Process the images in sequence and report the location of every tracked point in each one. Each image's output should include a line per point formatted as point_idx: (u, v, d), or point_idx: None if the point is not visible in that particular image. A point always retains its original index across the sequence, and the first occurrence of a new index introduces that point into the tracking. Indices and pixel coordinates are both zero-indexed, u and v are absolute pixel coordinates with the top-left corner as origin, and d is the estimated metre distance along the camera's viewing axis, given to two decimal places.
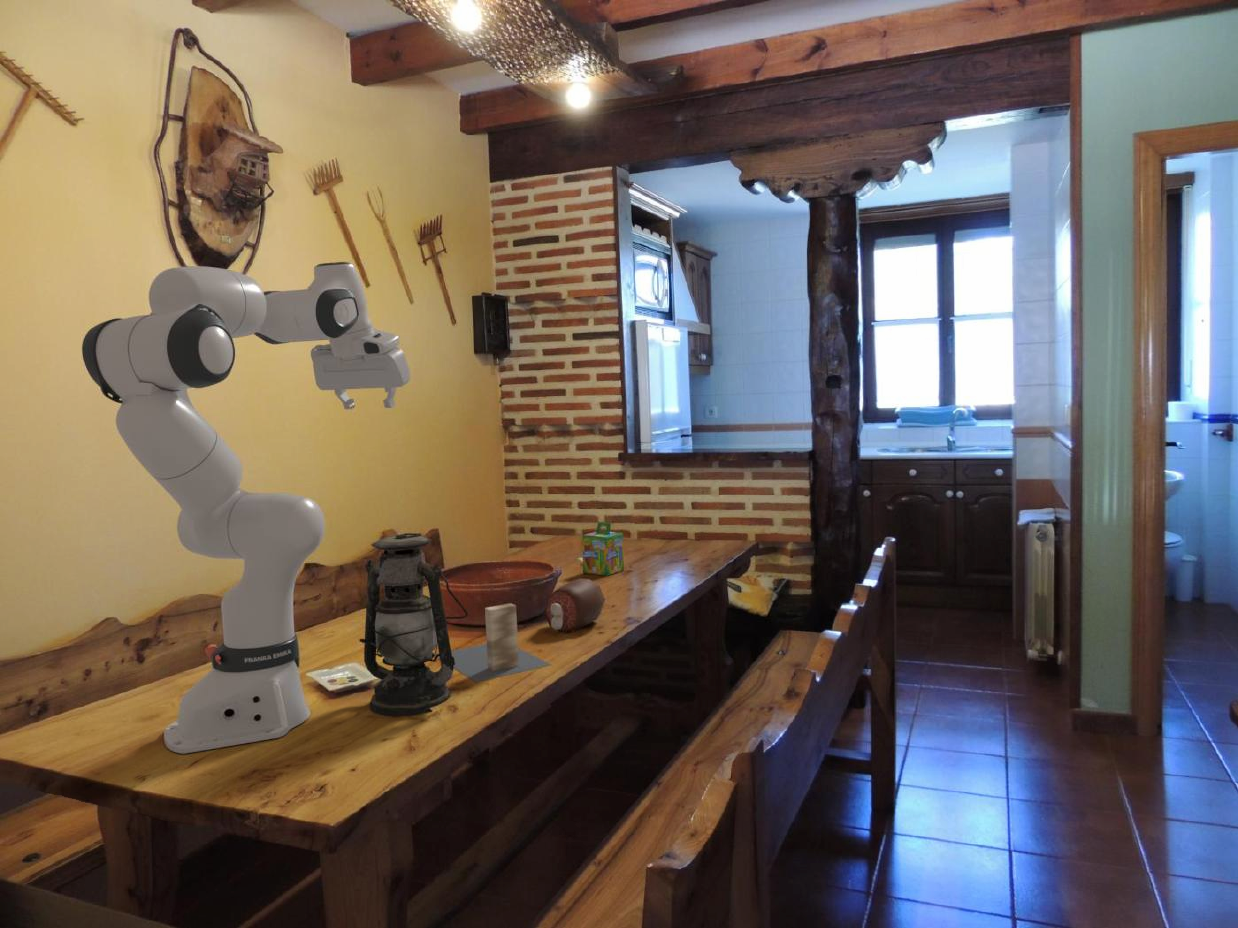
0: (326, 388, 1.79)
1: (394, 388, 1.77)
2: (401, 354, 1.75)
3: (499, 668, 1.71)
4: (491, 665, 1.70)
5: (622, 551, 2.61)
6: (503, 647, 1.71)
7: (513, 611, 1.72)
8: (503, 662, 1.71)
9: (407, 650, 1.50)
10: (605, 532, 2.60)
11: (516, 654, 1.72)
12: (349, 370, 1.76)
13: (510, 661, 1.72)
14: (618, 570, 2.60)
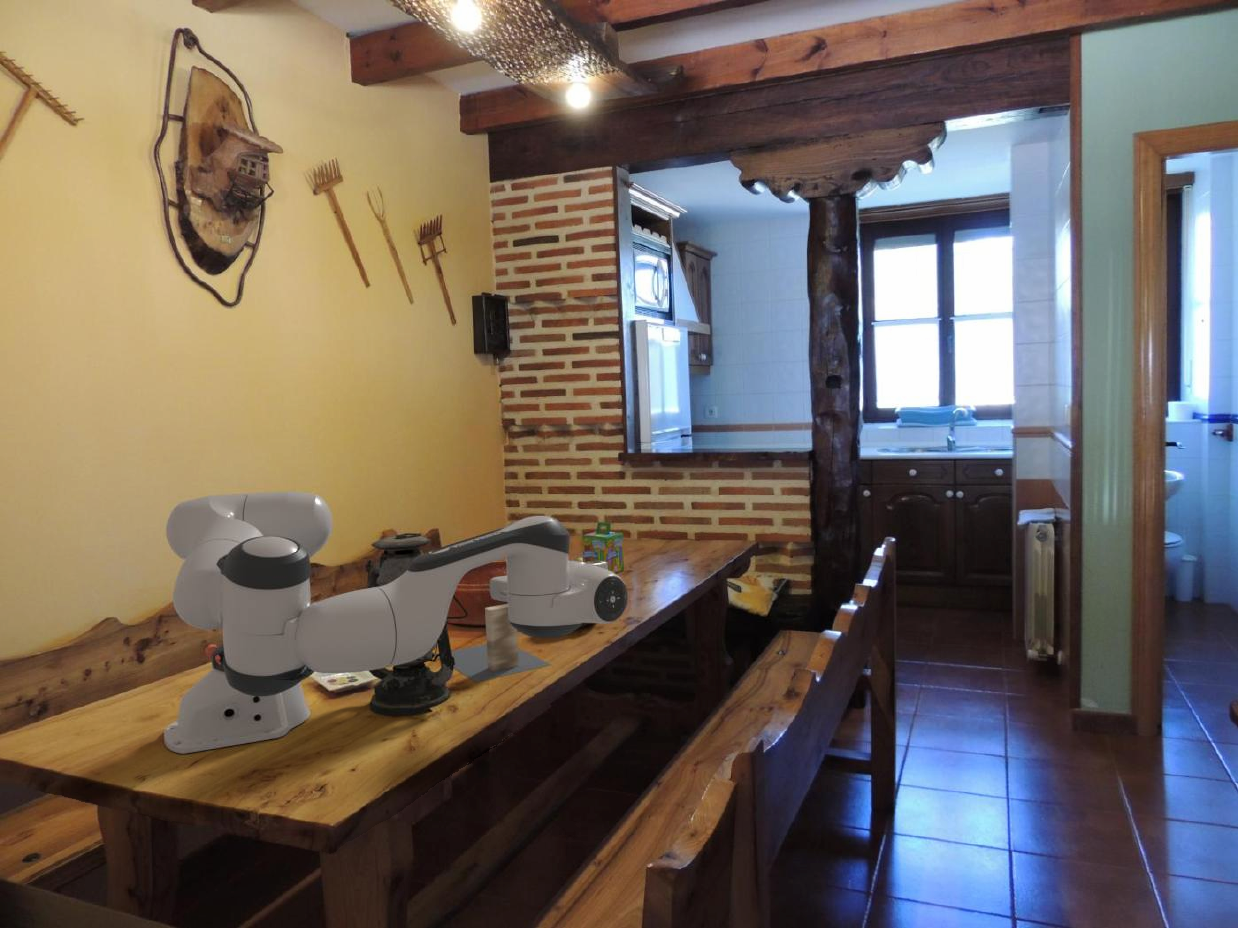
0: None
1: None
2: None
3: (499, 668, 1.71)
4: (491, 665, 1.70)
5: (622, 551, 2.61)
6: (503, 647, 1.71)
7: None
8: (503, 662, 1.71)
9: None
10: (605, 532, 2.60)
11: (516, 654, 1.72)
12: None
13: (510, 661, 1.72)
14: (618, 570, 2.60)
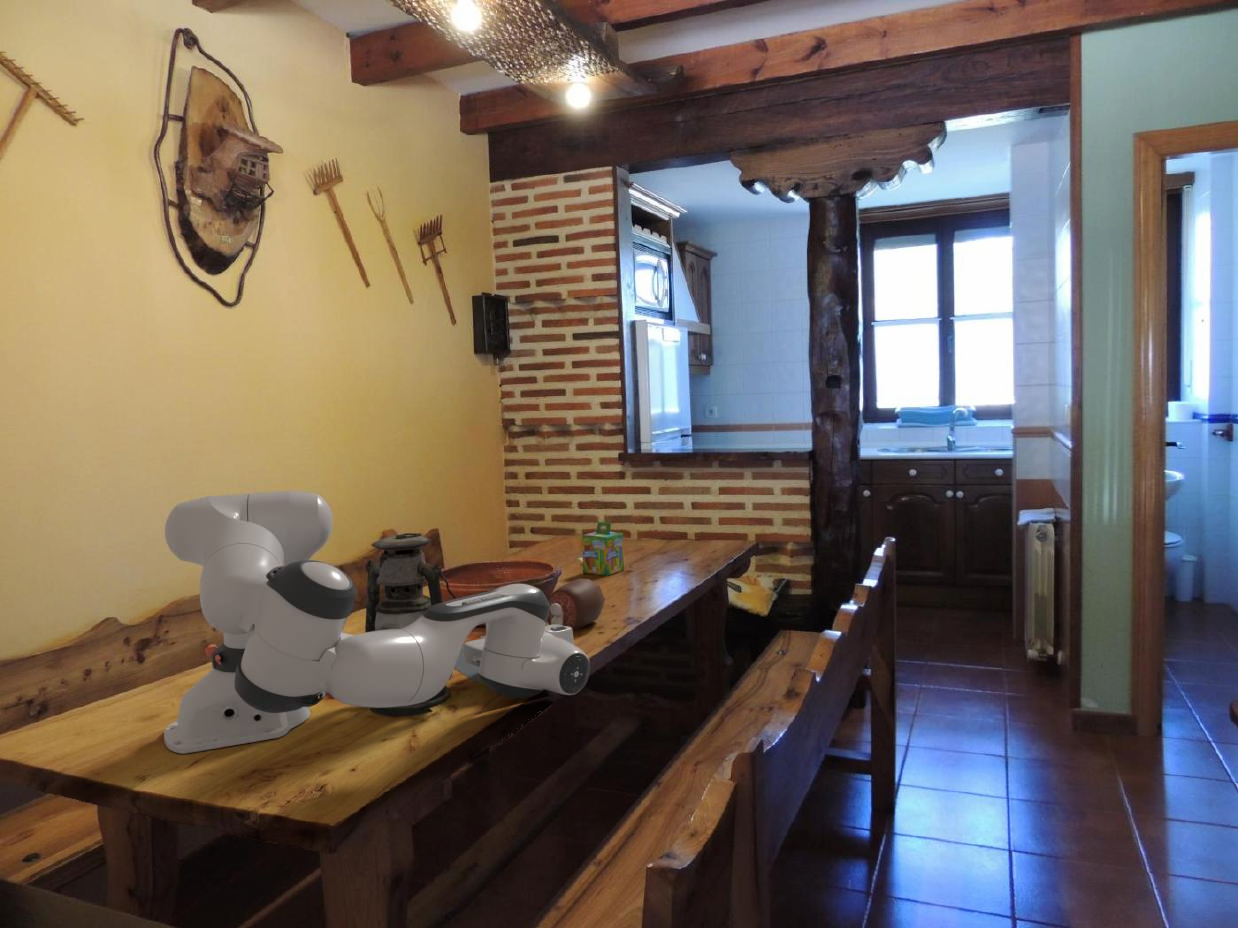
0: None
1: None
2: None
3: None
4: None
5: (622, 551, 2.61)
6: None
7: None
8: None
9: None
10: (605, 532, 2.60)
11: None
12: None
13: None
14: (618, 570, 2.60)
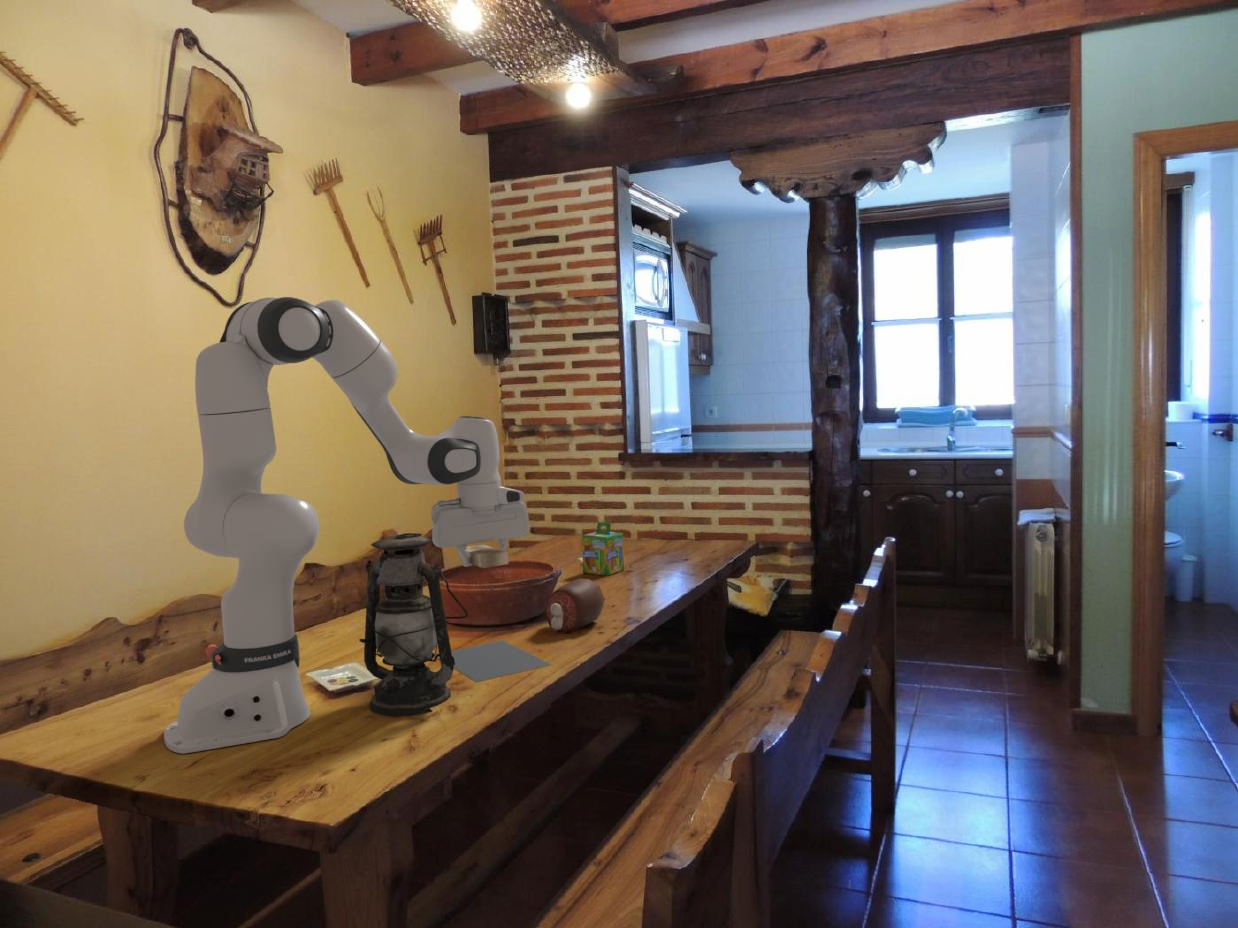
0: (449, 544, 1.73)
1: None
2: None
3: (488, 554, 1.73)
4: (480, 559, 1.73)
5: (622, 551, 2.61)
6: (484, 551, 1.77)
7: (481, 545, 1.84)
8: (490, 553, 1.75)
9: (407, 650, 1.50)
10: (605, 532, 2.60)
11: (500, 550, 1.77)
12: (478, 523, 1.76)
13: (496, 552, 1.75)
14: (618, 570, 2.60)
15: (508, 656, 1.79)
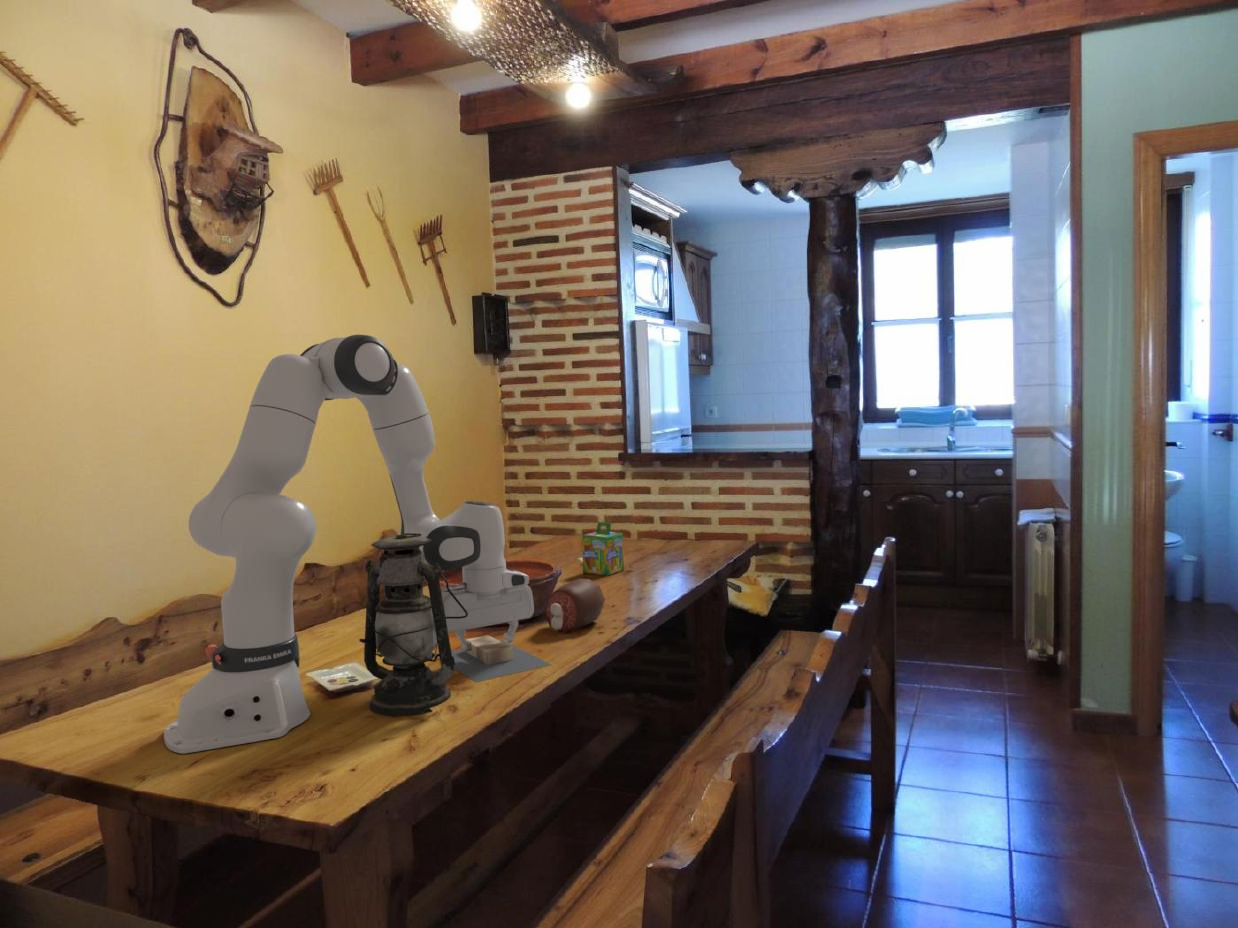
0: (455, 630, 1.74)
1: None
2: None
3: (493, 651, 1.75)
4: (485, 655, 1.75)
5: (622, 551, 2.61)
6: (489, 645, 1.79)
7: (487, 636, 1.86)
8: (495, 649, 1.76)
9: (407, 650, 1.50)
10: (605, 532, 2.60)
11: (506, 645, 1.78)
12: (483, 607, 1.77)
13: (502, 647, 1.77)
14: (618, 570, 2.60)
15: None
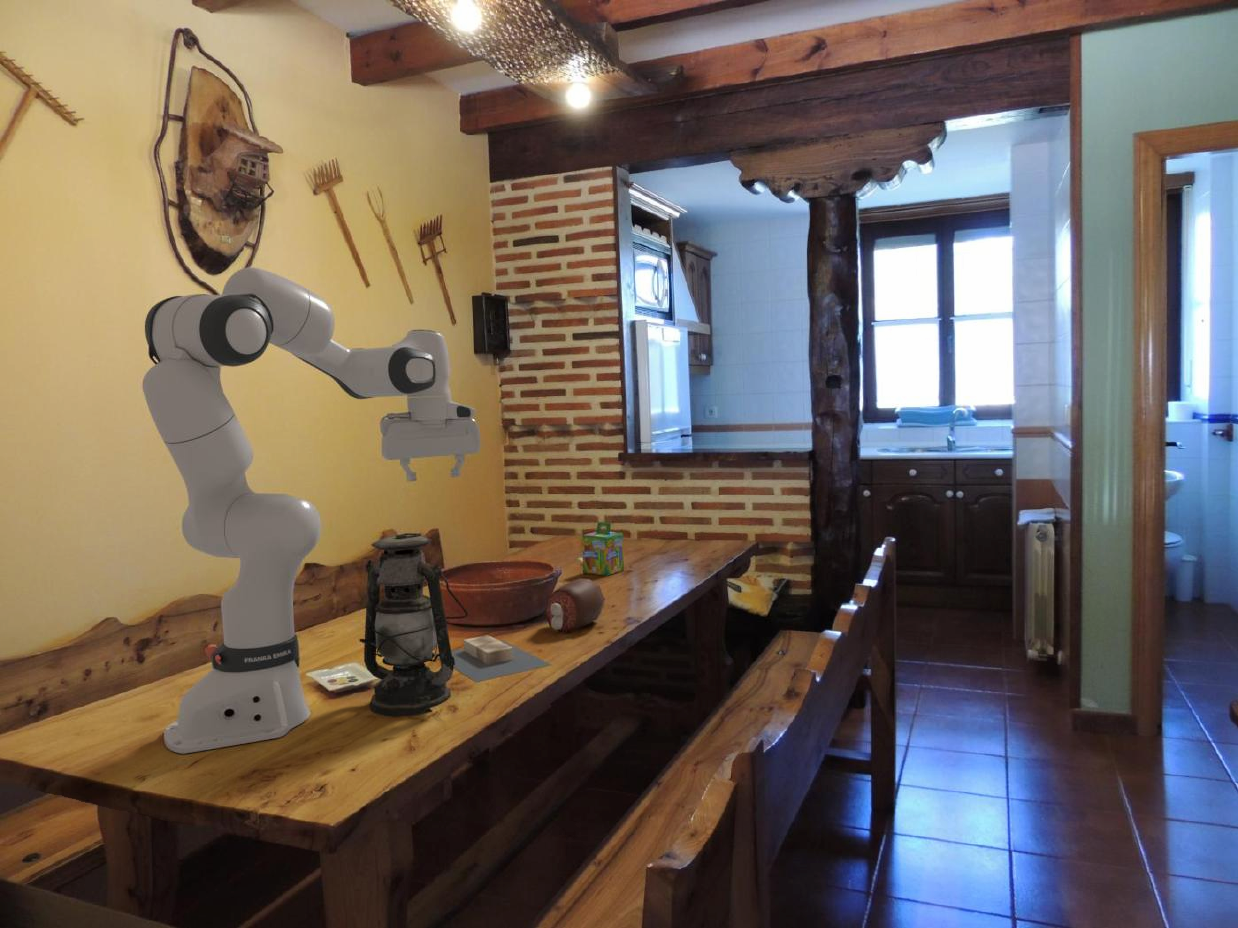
0: (398, 457, 1.73)
1: None
2: None
3: (493, 651, 1.75)
4: (485, 655, 1.75)
5: (622, 551, 2.61)
6: (489, 645, 1.79)
7: (487, 636, 1.86)
8: (495, 649, 1.76)
9: (407, 650, 1.50)
10: (605, 532, 2.60)
11: (506, 645, 1.78)
12: (427, 437, 1.77)
13: (502, 647, 1.77)
14: (618, 570, 2.60)
15: None
